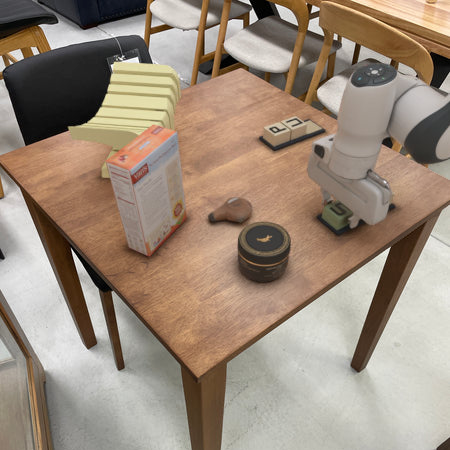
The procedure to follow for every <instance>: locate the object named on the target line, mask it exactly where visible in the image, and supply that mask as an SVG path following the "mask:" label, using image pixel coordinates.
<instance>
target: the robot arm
mask: <svg viewBox="0 0 450 450" xmlns="http://www.w3.org/2000/svg"><path fill="white" fill-rule="evenodd" d="M336 125H337V127H336V128H337V129H336V132H334V133H332V134H328V135H326V136H323V137H321V138H318V139H316V140H314V141H313V142H312V143H311V146H310V147H311V149H310V150H311V152H310V154H309V156H308V161H307V166H306V173H307V176H308V177H307V178H309V179H310V180H311V181H312V182H314V183H315V184H316V185H318V187H320V188H319V190H320V194H321V199H322V200H321V205H322V206H323V207H324V206H326V205H329V204H331V203H333V202H334V199H335V200H336V201H337V200H338V201H339V202H341V203H342V204H343V205H345V206H346V207H347V208H348V209H350V210H351V211H352V212H353V213H354V214H353V216H352V217H350V218H348V220H347V223H346V224H347V225H348V226H349V227H350V228H353V229H355V228H357V227H358V226H357V224H358V221H359V220H360V219H362V220H364V221H365V224H367V225H369V226H374V225H376V224H379V223H380V222H382V221H384V220H385V219H386V218H387V216H388V212H389V211H388V208H389V203H390V198H391V195H392V192H393V190H392V188H391V185H389V181H388V180H387V179H386V178H383V177H381V176H380V175H379V174H378V173H376V172H375V170H376V167H377V163H378V159H379V157H380V154H381V151H382V146H383V141H384V140H385V139H386V138H392V139H394V140H395V142H397V143H398V144H399V145H400V146H401V147H403V148H404V150H405V152H407V154H408V155H409V156H410V157H411V158H412V160H414V161H415V162H416V163H417V164H419V165H435V164H439V163H443V162H446V161H448V160H450V91H449V92H448V94H447V95H446V96H444V95H442V94H441V93H439V92H438V91H436V89H433V87H431V85H428V84H427V83H426V82H425V81H423V80H422V79H420V78H419V77H417V76H414V75H412V74H408V73H407V74H406V73H405V74H402V73H400V72H399V71H398V70H397V68H395V67H394V66H393V65H391V64H389V63H385V62H371V63H367V64H364V65H361V66H359V67H358V68H356V69H355V70H354V71H353V72H352V73H351V75H350V76H349V78H348V81H347V82H346V85H345V86H344V90H343V93H342V96H341V100H340V103H339V107H338V112H337V118H336ZM356 226H357V227H356ZM354 227H355V228H354Z"/></svg>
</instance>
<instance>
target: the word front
mask: <svg viewBox="0 0 450 450" xmlns="http://www.w3.org/2000/svg"><path fill="white" fill-rule="evenodd" d="M395 194H396V193H395V192H394V191H392V195H391V198H390V203H389V208H388V212H390V211H393V210H394V209H396V205H395V204H394V203H393V199H394V197H395ZM315 219H317V220H318V221H319V222H320V223H322V224H323V225H324V226H325V227H326V228H327V229H329V230H330V231H331V232H332V233H333V234H334V235H336V236H337V237H340V236H341V235H343V234H345V233H347V232H349V231H351V230H353V229H356V228H357V227H359V226H361V225H364V224H366V222H365V221H364V220H362V219H360V220H359V221H358V224H357V226H356V227H354V228H350V227H349V226H348V225H347V226H345V227H343V228H341V229H339V230H336V229H335V228H333V227H332V226H331V225H330V224H329V223H328V222H326V221H325V220H324V219H323V218H322V213H320V214H317V216H316V218H315Z"/></svg>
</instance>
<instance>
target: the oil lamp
mask: <svg viewBox="0 0 450 450" xmlns="http://www.w3.org/2000/svg"><path fill="white" fill-rule="evenodd" d="M252 214H253V205H252V203H251V202H250V201H249V200H248V199H246V198H245V197H244V198H243V197H240V196H237V197H228V198H227V200H226V201H224V202H223V204H221V206H218V207H217V208H216V209H215V210H213V211H211V212H209V214H208V215H207V218H208V220H209V221H210V222H212V223H214V222H219V221H225V220H228V221H231V222H238V223H243V222H244V221H245V220H246V219H248V218H249V217H250V216H252Z"/></svg>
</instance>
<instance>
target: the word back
mask: <svg viewBox="0 0 450 450" xmlns="http://www.w3.org/2000/svg"><path fill="white" fill-rule="evenodd" d="M324 133H326V129H325V128H323V127H322V126H320V125H319V124H317V123H316V122H314V121H313V120H312V119H310V118H307V119H305V120H302V119H300V118H299V117H297V116H296V115H295V116H292V117H289V118H286V119H284V120H281V121H278V122H275V123H272V124H269V125H266V126H264V127H263V130H262V135H260V136H258V139H259V140H260V141H261V142H262V143H263V144H265V145H266V146H267V147H269V148H270V149H271V150H272V151H274V152H276V151H279V150H281V149H284V148H287V147H289V146H292V145H294V144H295V145H296V144H297V143H299V142H302V141H306V140H308V139H310V138H313V137H315V136H318V135H321V134H324Z"/></svg>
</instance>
